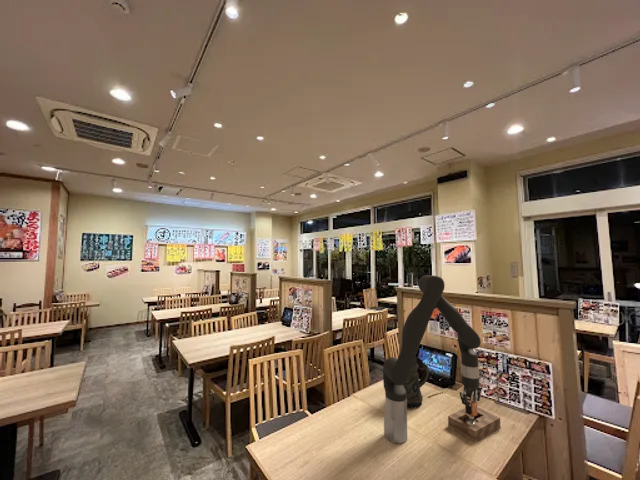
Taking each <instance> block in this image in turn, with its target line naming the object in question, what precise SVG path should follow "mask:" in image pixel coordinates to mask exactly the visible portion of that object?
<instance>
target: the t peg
mask: <svg viewBox="0 0 640 480" xmlns="http://www.w3.org/2000/svg"><path fill="white" fill-rule="evenodd" d="M468 403H469V400H468ZM477 407H478V401H474V400H473V401H471V414H468V413H466V405H464V408H465V413H466V414H468V415H469V419H466V423H467V424H469V425H471V426H472V425H473V424H475V423H477V422H476V421H475V420H474V416H477Z"/></svg>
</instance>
